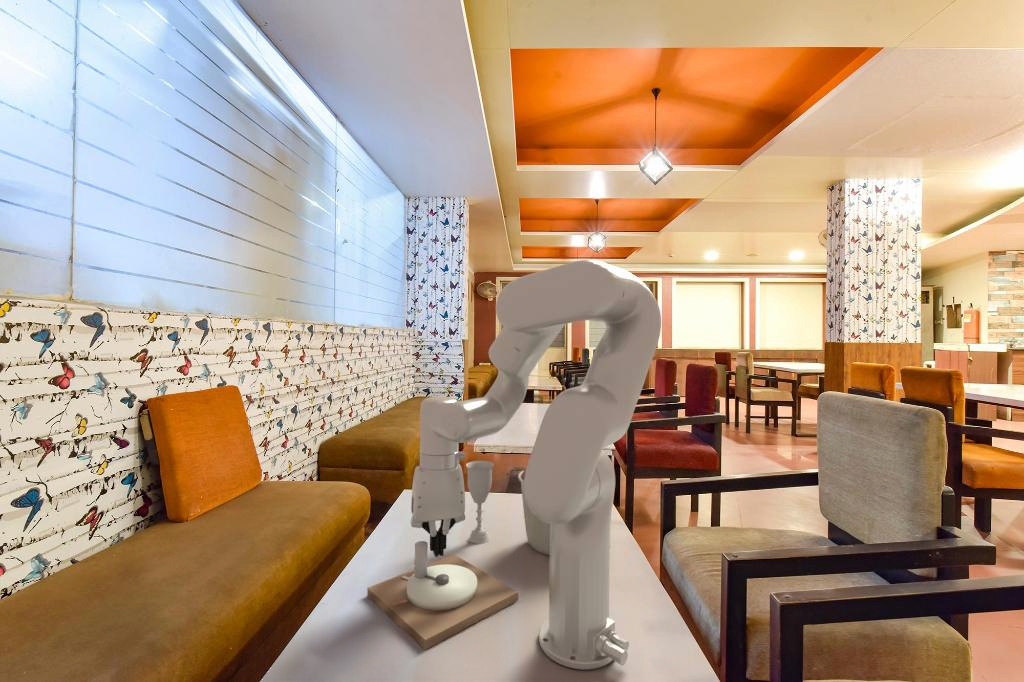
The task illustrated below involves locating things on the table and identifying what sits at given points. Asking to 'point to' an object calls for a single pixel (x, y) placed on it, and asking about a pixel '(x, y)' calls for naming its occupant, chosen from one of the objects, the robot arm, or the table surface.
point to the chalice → (479, 494)
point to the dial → (439, 583)
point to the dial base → (440, 623)
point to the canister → (535, 525)
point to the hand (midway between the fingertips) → (437, 553)
